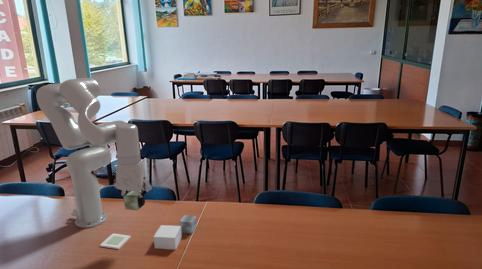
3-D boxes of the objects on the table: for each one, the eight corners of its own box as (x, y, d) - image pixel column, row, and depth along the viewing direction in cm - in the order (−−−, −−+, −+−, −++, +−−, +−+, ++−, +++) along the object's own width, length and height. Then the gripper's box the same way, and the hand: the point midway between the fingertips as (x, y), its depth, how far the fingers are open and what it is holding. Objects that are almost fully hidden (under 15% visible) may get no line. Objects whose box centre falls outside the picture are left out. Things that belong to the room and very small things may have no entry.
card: (100, 246, 122) (99, 244, 122) (112, 234, 130) (112, 233, 130) (118, 249, 121) (118, 247, 120) (130, 237, 128) (130, 235, 128)
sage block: (125, 209, 120) (123, 196, 118) (132, 203, 124) (131, 190, 123) (137, 210, 118) (135, 197, 117) (144, 204, 123) (143, 191, 122)
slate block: (180, 232, 131) (179, 221, 130) (185, 225, 136) (184, 214, 134) (192, 233, 130) (191, 222, 128) (196, 227, 134) (196, 216, 133)
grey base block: (154, 248, 121) (153, 236, 120) (161, 236, 129) (160, 225, 127) (175, 249, 120) (174, 237, 119) (181, 237, 128) (180, 225, 126)
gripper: (101, 160, 115) (108, 207, 120) (145, 164, 111) (150, 212, 116) (114, 154, 122) (120, 198, 127) (156, 156, 118) (160, 202, 123)
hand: (134, 204), depth 121 cm, fingers closed on sage block, 5 cm apart
